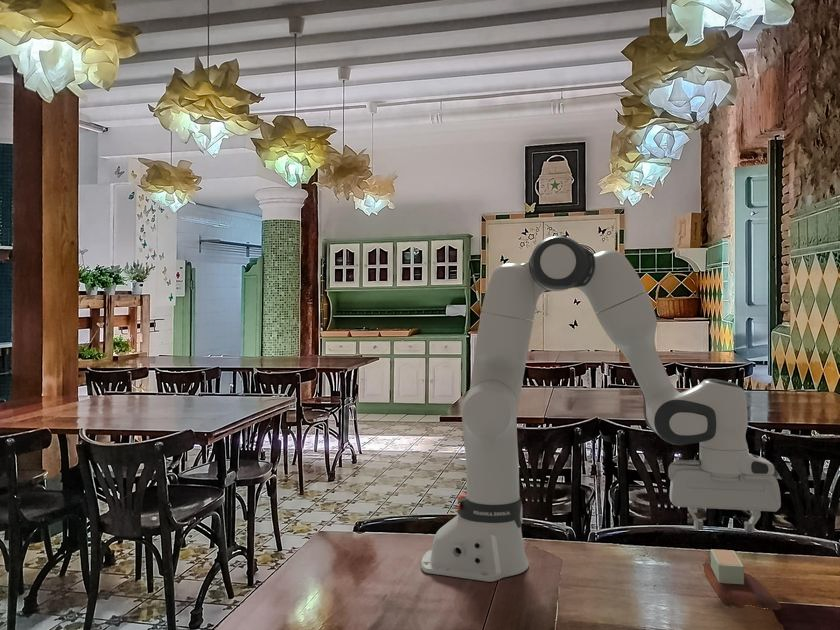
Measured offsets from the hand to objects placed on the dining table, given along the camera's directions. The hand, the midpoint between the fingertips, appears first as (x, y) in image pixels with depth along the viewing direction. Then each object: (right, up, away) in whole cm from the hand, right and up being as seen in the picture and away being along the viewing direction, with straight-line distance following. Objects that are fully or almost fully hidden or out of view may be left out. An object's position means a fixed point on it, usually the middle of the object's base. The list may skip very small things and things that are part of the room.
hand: (723, 530), depth 137 cm
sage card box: (+1, -7, +3) cm, 7 cm away
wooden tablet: (+1, -10, -2) cm, 10 cm away
